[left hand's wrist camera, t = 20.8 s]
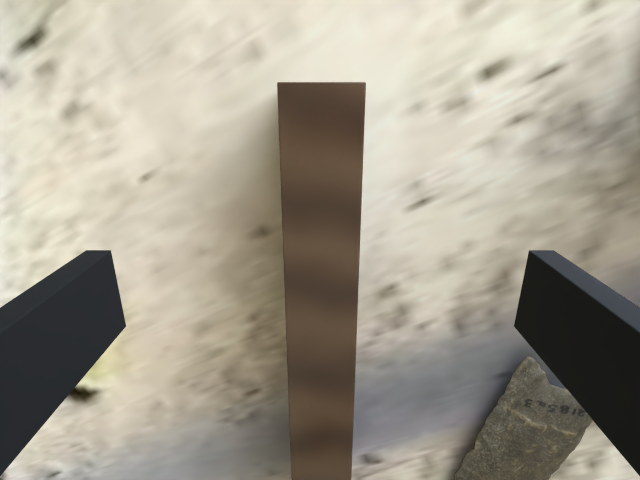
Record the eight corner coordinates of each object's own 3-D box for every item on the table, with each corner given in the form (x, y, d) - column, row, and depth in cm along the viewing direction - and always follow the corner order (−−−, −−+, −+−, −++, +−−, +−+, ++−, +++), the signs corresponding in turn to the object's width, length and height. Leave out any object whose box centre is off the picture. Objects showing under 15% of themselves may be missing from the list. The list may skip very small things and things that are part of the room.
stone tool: (516, 347, 41) (426, 506, 50) (530, 365, 38) (432, 529, 47) (608, 371, 42) (505, 522, 51) (628, 390, 40) (515, 546, 48)
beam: (287, 85, 32) (277, 82, 24) (354, 85, 32) (365, 82, 24) (302, 609, 57) (299, 693, 49) (340, 609, 57) (343, 692, 49)
